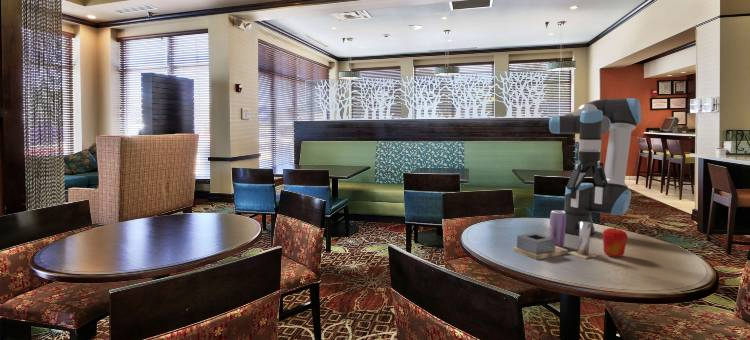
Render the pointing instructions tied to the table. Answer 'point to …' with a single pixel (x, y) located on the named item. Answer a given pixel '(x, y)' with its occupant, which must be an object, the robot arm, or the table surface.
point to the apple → (614, 242)
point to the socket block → (536, 243)
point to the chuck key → (584, 237)
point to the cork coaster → (583, 255)
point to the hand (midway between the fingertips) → (586, 205)
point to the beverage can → (558, 227)
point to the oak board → (539, 256)
